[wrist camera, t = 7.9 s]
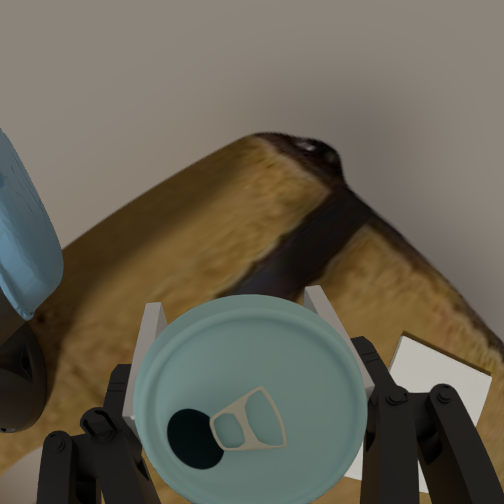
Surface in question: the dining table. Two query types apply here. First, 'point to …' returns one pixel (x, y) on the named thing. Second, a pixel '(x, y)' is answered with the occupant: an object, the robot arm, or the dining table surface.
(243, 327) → the can
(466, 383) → the white mat
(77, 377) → the dining table surface
